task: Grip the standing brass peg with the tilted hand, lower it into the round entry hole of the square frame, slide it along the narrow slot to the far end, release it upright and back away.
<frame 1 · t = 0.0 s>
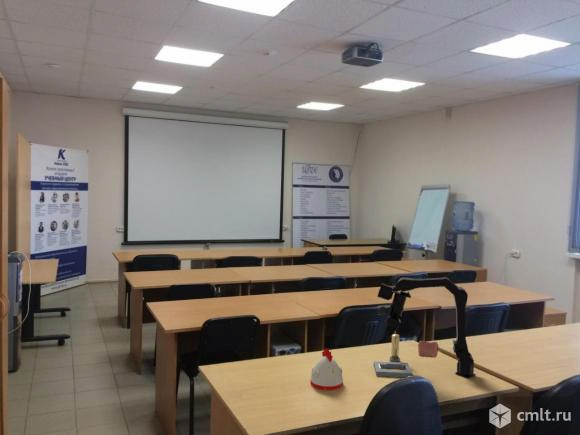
hand: (389, 334, 215), 15 cm above the table, tool pointing down, fingers open, 9 cm apart
brass peg: (394, 361, 224), on the table
square frame: (392, 371, 210), on the table
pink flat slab: (427, 350, 243), on the table
kitchen timer: (326, 384, 195), on the table
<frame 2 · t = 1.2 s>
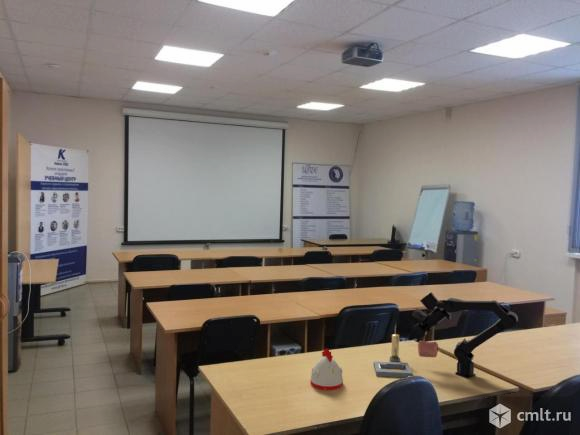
hand: (411, 337, 219), 13 cm above the table, tool tilted 45°, fingers open, 9 cm apart
nothing on the table moved.
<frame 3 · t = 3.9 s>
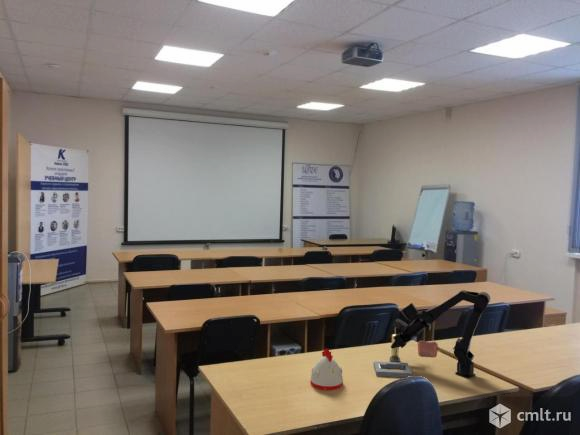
hand: (392, 346, 224), 7 cm above the table, tool tilted 45°, fingers closed on brass peg, 3 cm apart
brass peg: (394, 361, 224), on the table, touching gripper
everything else where it was.
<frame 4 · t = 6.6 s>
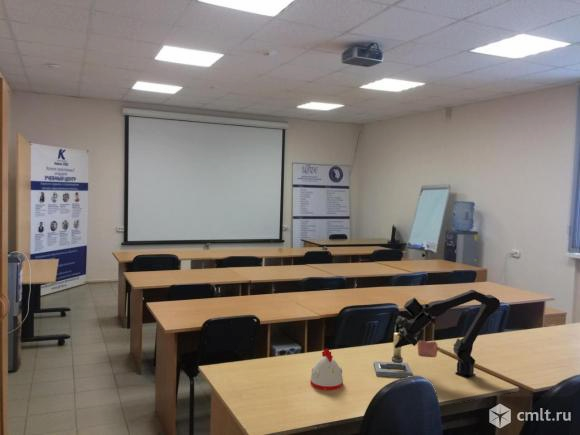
hand: (394, 346, 209), 12 cm above the table, tool tilted 45°, fingers closed on brass peg, 3 cm apart
brass peg: (397, 361, 210), point 5 cm above the table, touching gripper
everything else where it was.
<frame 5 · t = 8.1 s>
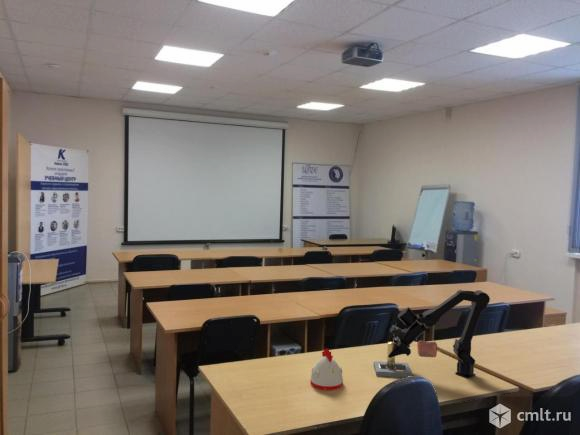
hand: (388, 355, 210), 7 cm above the table, tool tilted 45°, fingers closed on brass peg, 3 cm apart
brass peg: (390, 370, 210), resting in square frame, touching gripper
everything else where it was.
when the fingers open (7 cm above the table, at t = 9.4 s): brass peg stays where it is, resting in square frame.
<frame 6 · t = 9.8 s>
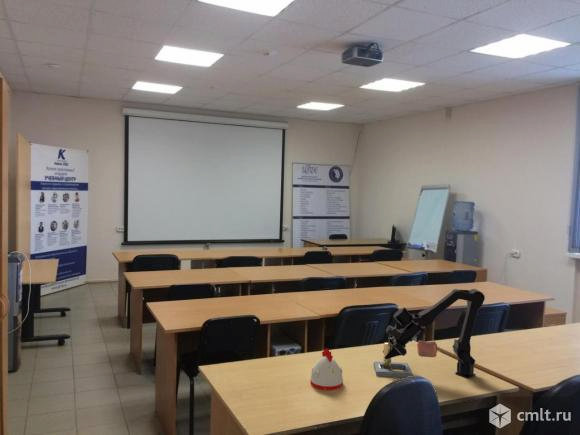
hand: (384, 355, 210), 7 cm above the table, tool tilted 45°, fingers open, 7 cm apart
brass peg: (387, 371, 210), resting in square frame
everything else where it was.
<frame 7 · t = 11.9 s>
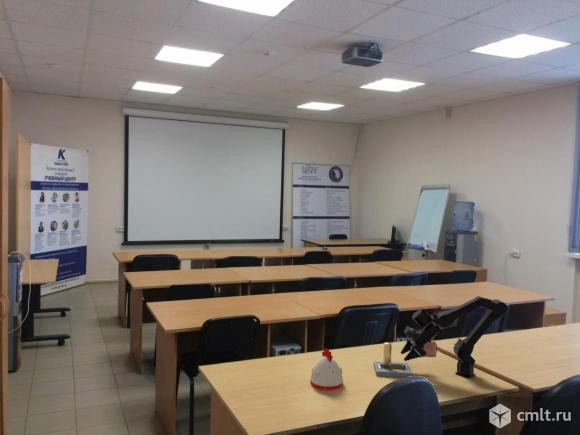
hand: (402, 356, 209), 7 cm above the table, tool tilted 45°, fingers open, 9 cm apart
nothing on the table moved.
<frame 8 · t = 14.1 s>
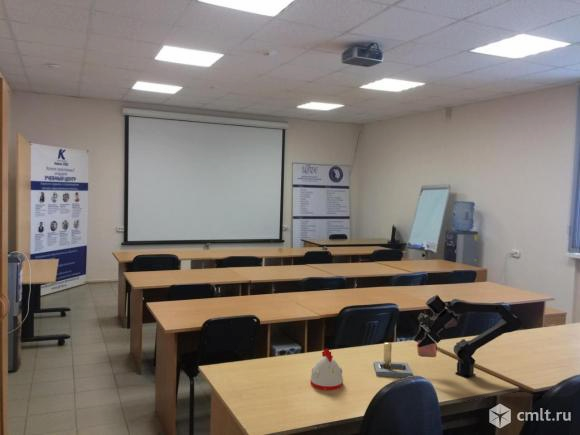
hand: (416, 343, 209), 14 cm above the table, tool tilted 45°, fingers open, 9 cm apart
nothing on the table moved.
at the end: brass peg 0.4 cm from the target spot on the square frame, point 0.0 cm above the square frame's base; brass peg tilted 0°; the gripper is holding nothing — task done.
